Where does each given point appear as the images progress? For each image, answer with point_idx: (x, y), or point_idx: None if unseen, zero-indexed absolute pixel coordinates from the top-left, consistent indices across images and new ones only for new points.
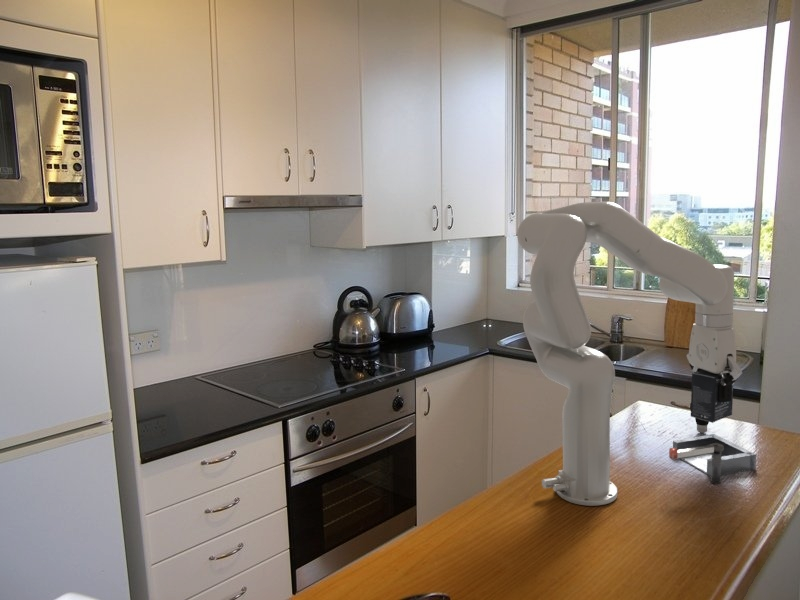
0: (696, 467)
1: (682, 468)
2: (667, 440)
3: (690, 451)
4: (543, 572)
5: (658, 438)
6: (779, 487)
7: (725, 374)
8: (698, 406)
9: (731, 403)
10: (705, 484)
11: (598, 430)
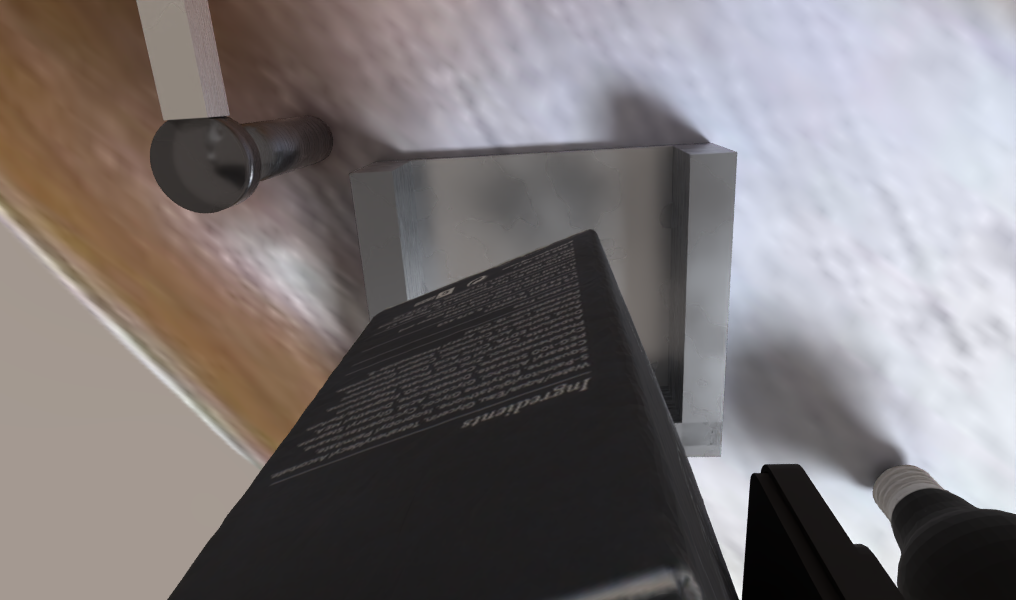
0: (494, 155)
1: (517, 75)
2: (908, 243)
3: None
4: None
5: (964, 210)
6: (216, 382)
7: None
8: (506, 297)
9: None
10: (299, 69)
11: None
